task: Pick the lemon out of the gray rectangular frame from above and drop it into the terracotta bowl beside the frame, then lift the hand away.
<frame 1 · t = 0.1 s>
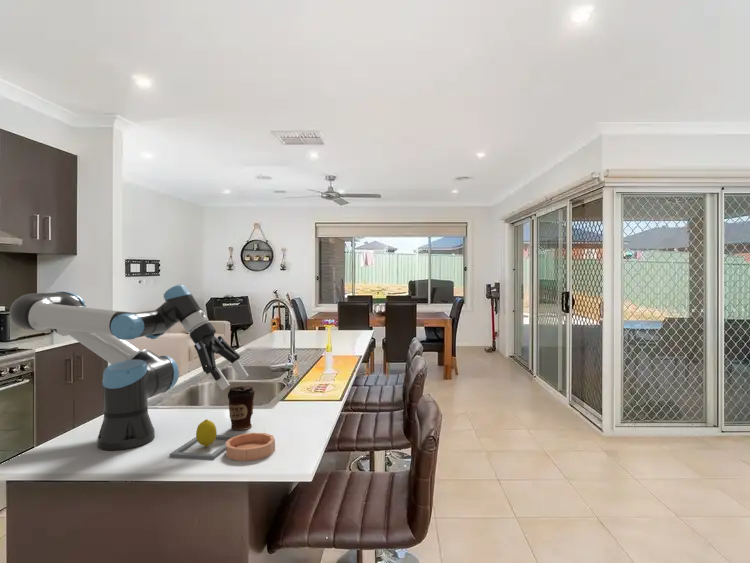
hand: (236, 382, 148), 15 cm above the worktop, tool tilted 35°, fingers open, 13 cm apart
bowl: (250, 451, 130), on the worktop
gray rectangular frame: (206, 447, 134), on the worktop
lemon: (206, 447, 134), resting in gray rectangular frame
coffee cup: (241, 428, 151), on the worktop
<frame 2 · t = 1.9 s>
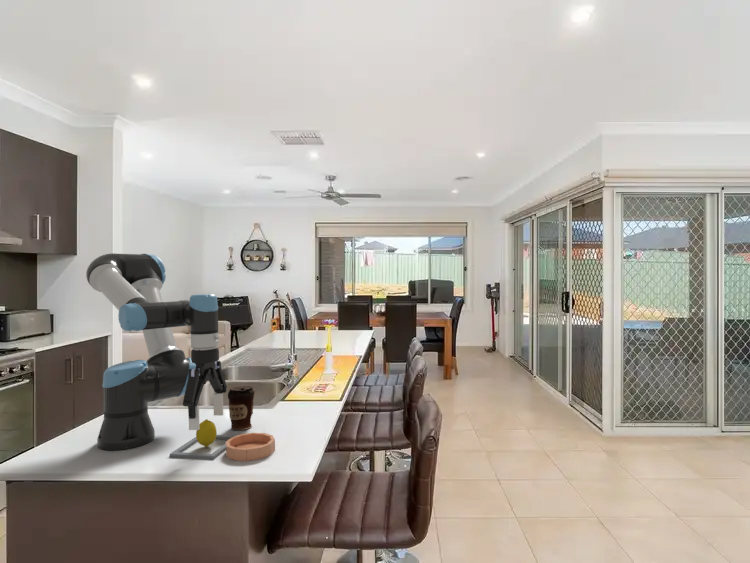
hand: (207, 422, 134), 7 cm above the worktop, tool pointing down, fingers open, 13 cm apart
nothing on the worktop moved.
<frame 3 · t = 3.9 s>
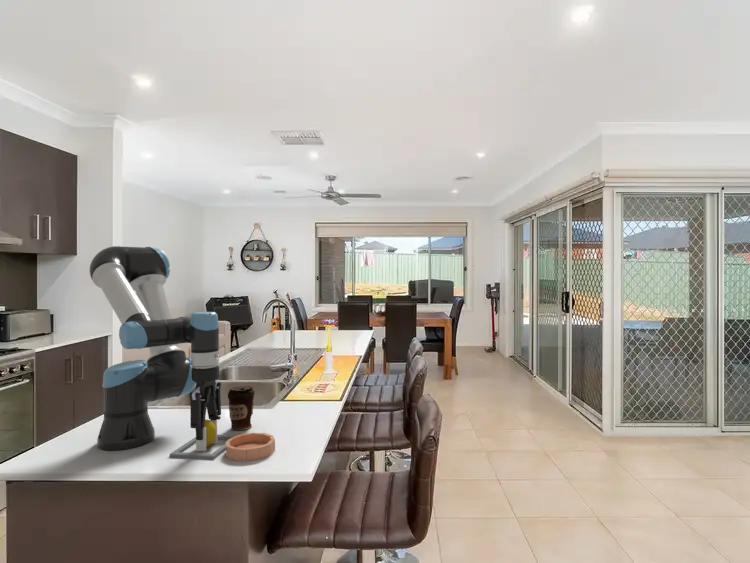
hand: (207, 446, 134), 0 cm above the worktop, tool pointing down, fingers closed on lemon, 5 cm apart
lemon: (206, 448, 134), resting in gray rectangular frame, touching gripper
everything else where it was.
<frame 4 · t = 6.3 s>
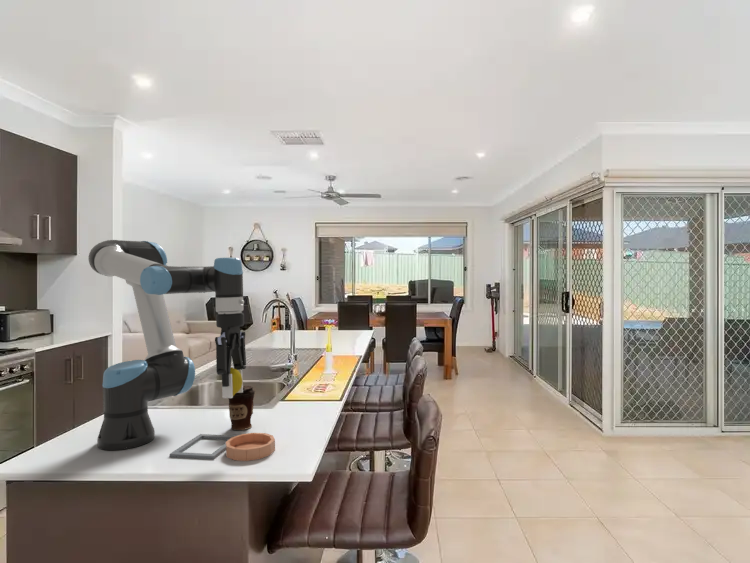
hand: (233, 394, 131), 16 cm above the worktop, tool pointing down, fingers closed on lemon, 5 cm apart
lemon: (232, 396, 131), point 15 cm above the worktop, touching gripper
everything else where it was.
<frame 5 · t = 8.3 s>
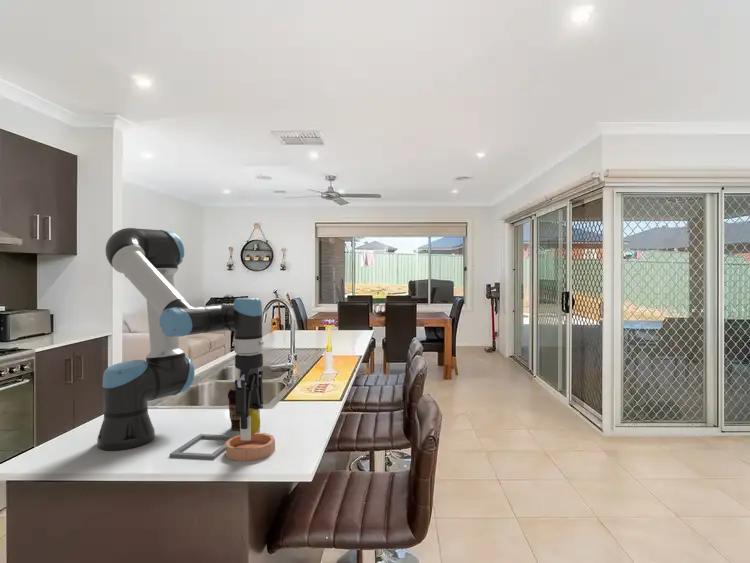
hand: (250, 435, 130), 4 cm above the worktop, tool pointing down, fingers closed on lemon, 5 cm apart
lemon: (250, 437, 130), point 4 cm above the worktop, touching gripper
everything else where it was.
when the fingers open (4 cm above the worktop, at t = 9.1 s): lemon drops 3 cm, resting on bowl.
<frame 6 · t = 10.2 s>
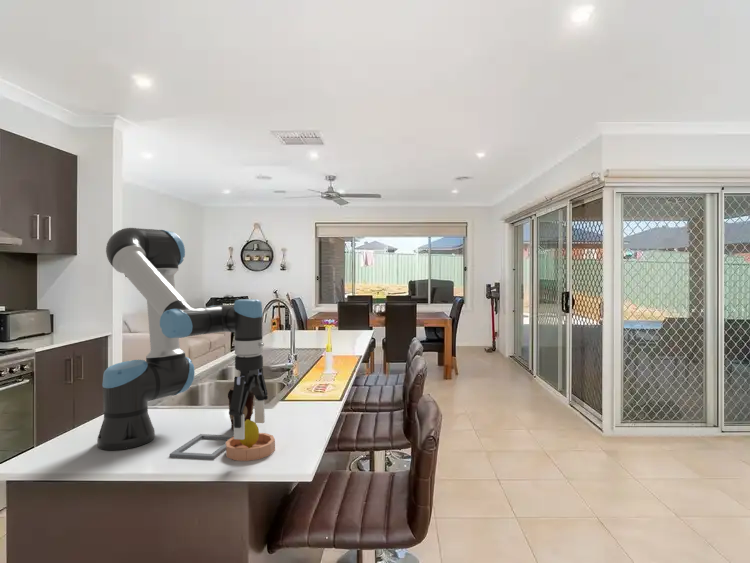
hand: (250, 430, 130), 6 cm above the worktop, tool pointing down, fingers open, 13 cm apart
lemon: (249, 448, 130), point 1 cm above the worktop, touching bowl
everything else where it was.
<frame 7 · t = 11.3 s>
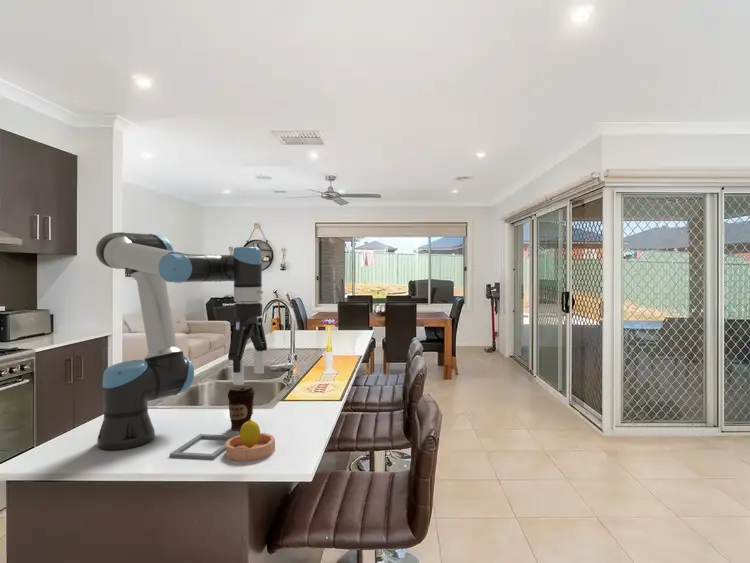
hand: (249, 378, 130), 20 cm above the worktop, tool pointing down, fingers open, 13 cm apart
nothing on the worktop moved.
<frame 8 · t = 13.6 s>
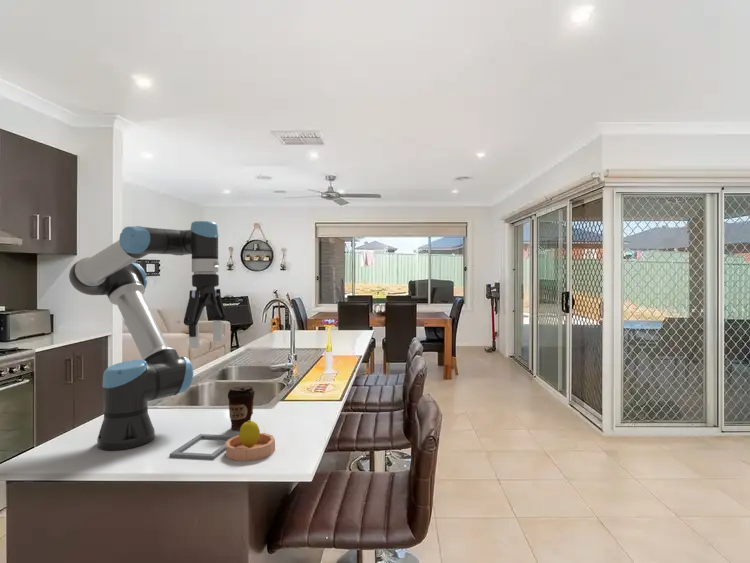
hand: (206, 344, 139), 29 cm above the worktop, tool pointing down, fingers open, 13 cm apart
nothing on the worktop moved.
at the end: lemon 0.2 cm from the bowl (horizontally); lemon point 0.6 cm above the worktop; the gripper is holding nothing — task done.
